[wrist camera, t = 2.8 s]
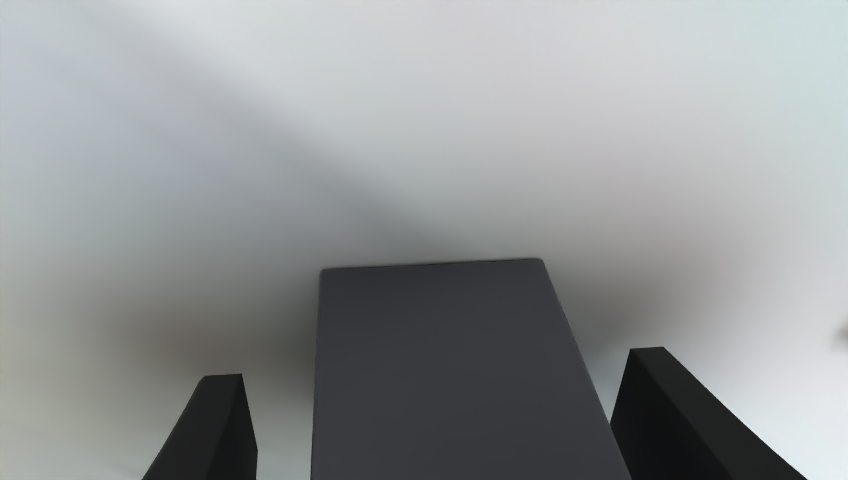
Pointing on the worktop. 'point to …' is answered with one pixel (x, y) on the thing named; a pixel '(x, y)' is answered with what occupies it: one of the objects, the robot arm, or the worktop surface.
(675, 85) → the worktop surface
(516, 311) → the grey block with knob
